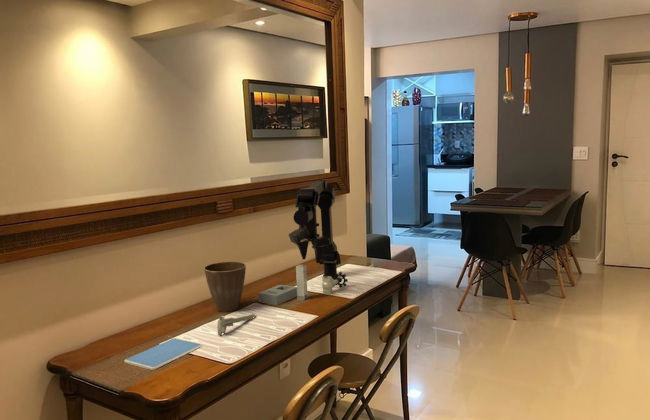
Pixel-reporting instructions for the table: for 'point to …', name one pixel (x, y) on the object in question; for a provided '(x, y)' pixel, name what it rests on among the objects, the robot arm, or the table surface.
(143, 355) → the tablet computer
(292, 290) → the bore block
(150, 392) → the table surface
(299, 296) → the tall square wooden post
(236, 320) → the caliper
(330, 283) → the valve
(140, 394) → the table surface
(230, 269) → the plant pot
